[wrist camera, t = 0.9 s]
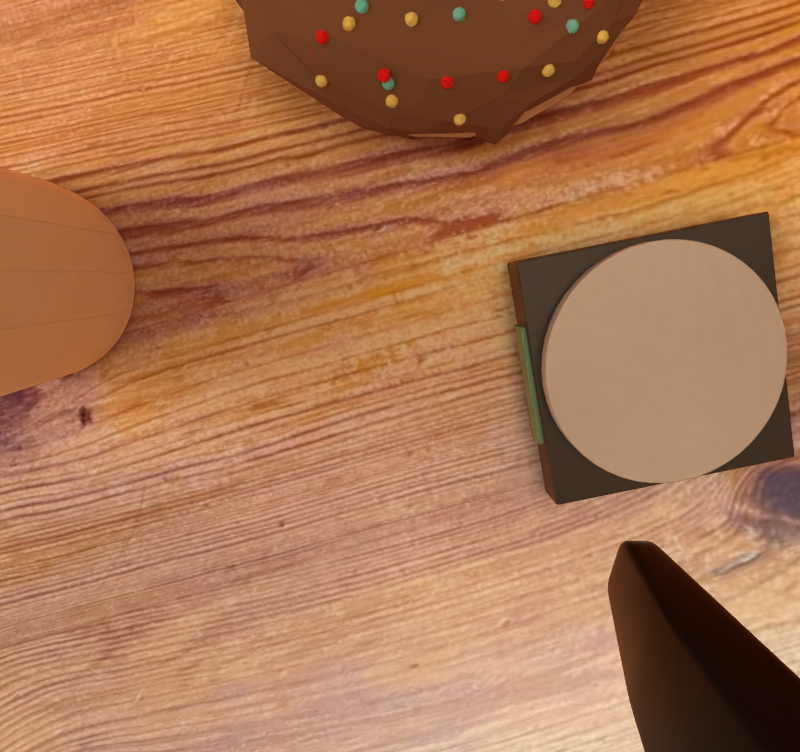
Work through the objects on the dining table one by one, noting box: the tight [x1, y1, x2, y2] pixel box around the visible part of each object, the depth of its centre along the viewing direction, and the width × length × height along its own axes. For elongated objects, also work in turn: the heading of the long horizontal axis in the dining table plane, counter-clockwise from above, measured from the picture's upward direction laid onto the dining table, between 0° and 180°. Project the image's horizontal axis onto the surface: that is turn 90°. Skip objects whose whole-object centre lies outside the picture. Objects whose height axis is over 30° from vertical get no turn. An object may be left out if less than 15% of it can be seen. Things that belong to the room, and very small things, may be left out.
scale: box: [508, 212, 794, 505], centre depth 24 cm, size 9×9×2 cm
